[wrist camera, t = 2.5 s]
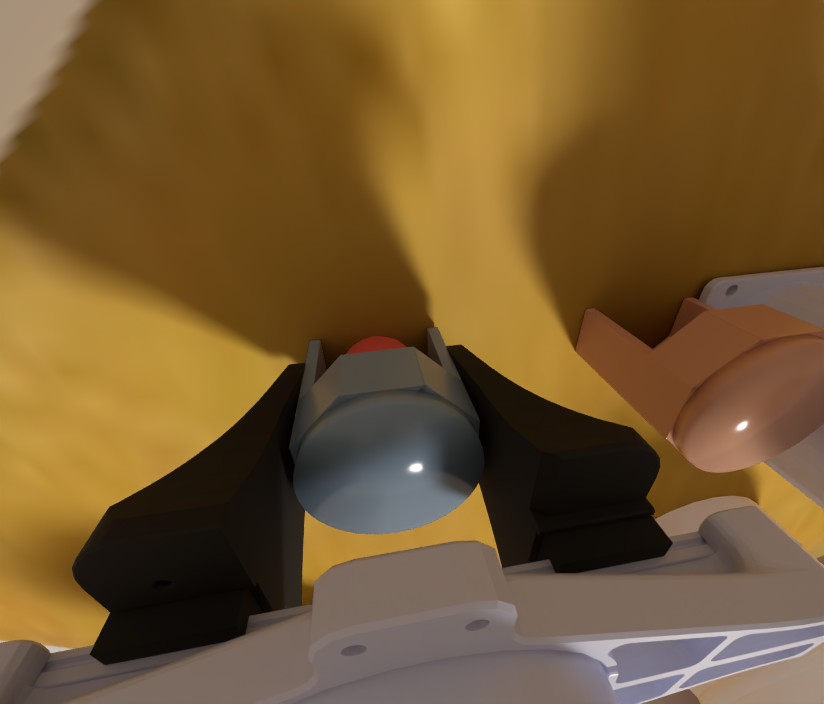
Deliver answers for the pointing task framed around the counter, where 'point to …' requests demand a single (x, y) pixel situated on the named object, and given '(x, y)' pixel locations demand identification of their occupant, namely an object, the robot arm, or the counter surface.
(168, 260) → the counter surface
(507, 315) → the counter surface
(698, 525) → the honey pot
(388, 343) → the red marble
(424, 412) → the slate-blue dome with prongs
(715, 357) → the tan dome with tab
